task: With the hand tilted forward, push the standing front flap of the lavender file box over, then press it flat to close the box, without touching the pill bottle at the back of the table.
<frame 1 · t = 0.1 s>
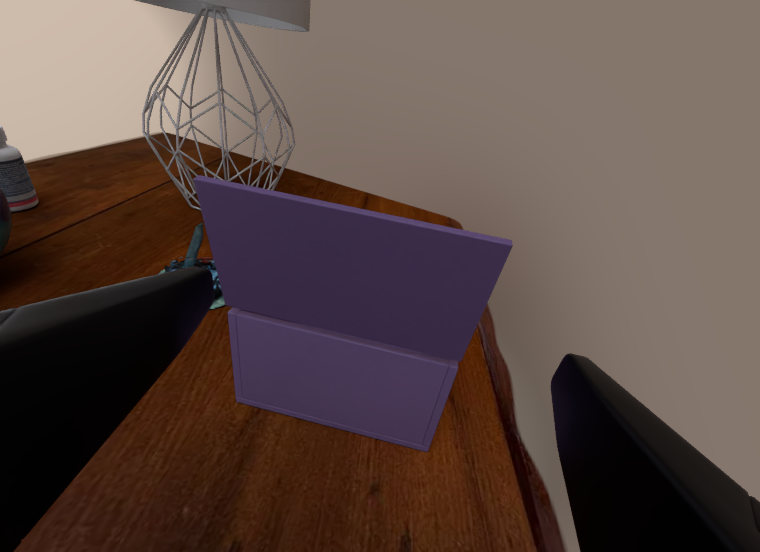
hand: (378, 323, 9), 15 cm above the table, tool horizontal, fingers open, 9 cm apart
file box: (356, 350, 29), on the table
dish: (203, 285, 34), on the table
table lamp: (228, 201, 53), on the table
flap: (343, 278, 16), point 12 cm above the table, hinge at 100.0°
pill bottle: (10, 207, 41), on the table
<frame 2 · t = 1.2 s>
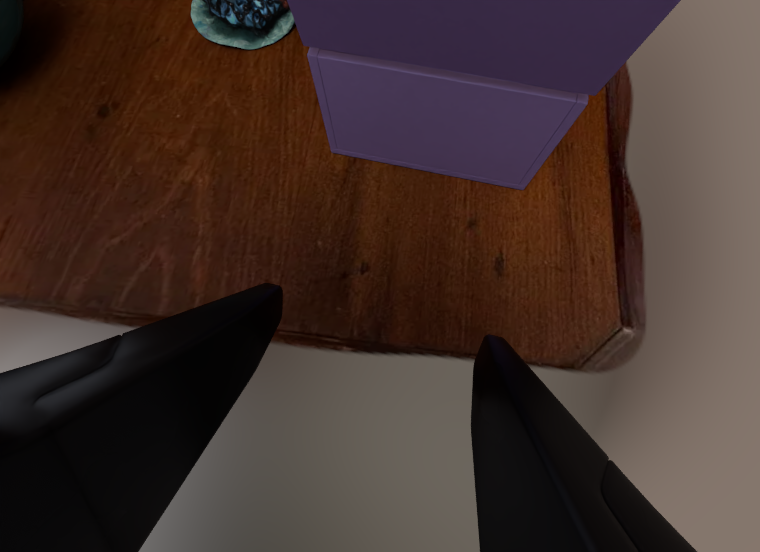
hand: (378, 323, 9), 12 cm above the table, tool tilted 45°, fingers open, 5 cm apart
file box: (445, 82, 25), on the table
dish: (250, 8, 27), on the table
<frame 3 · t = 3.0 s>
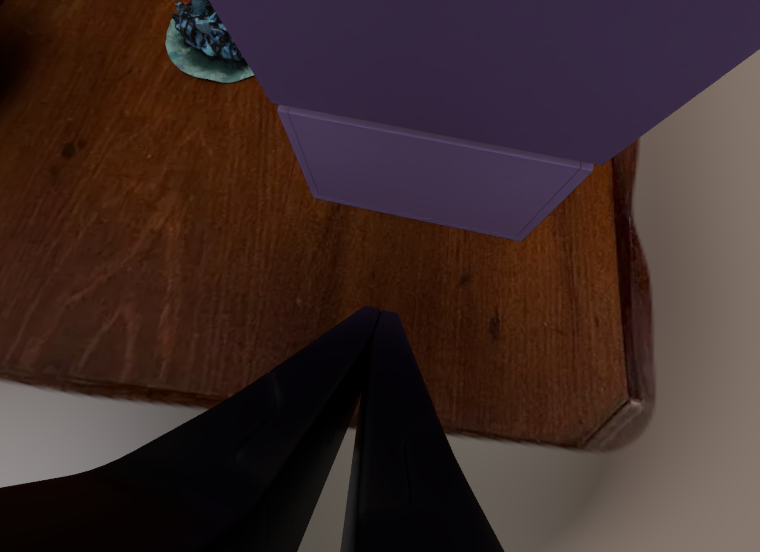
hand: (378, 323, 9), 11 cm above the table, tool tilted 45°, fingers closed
file box: (437, 119, 23), on the table
dish: (229, 37, 26), on the table
flap: (442, 58, 10), point 12 cm above the table, hinge at 100.0°
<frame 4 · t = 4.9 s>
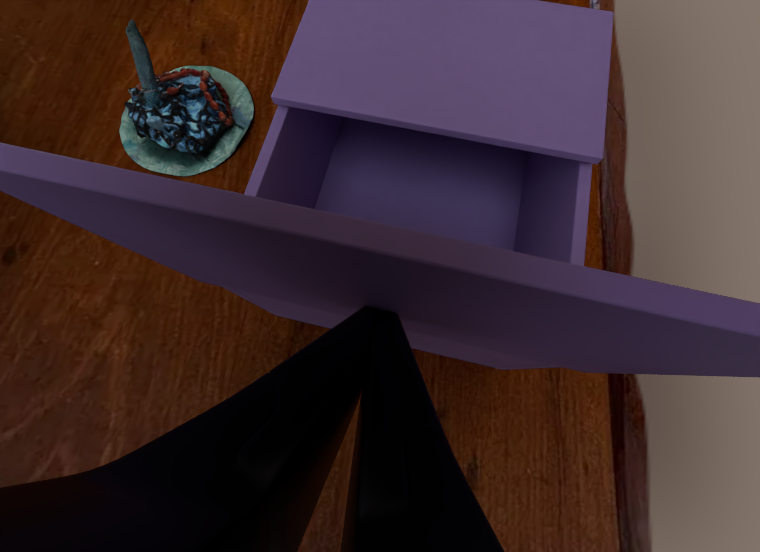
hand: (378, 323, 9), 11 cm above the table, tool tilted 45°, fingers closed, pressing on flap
file box: (413, 221, 21), on the table
dish: (190, 121, 24), on the table
flap: (383, 296, 8), point 12 cm above the table, hinge at 91.1°, touching gripper
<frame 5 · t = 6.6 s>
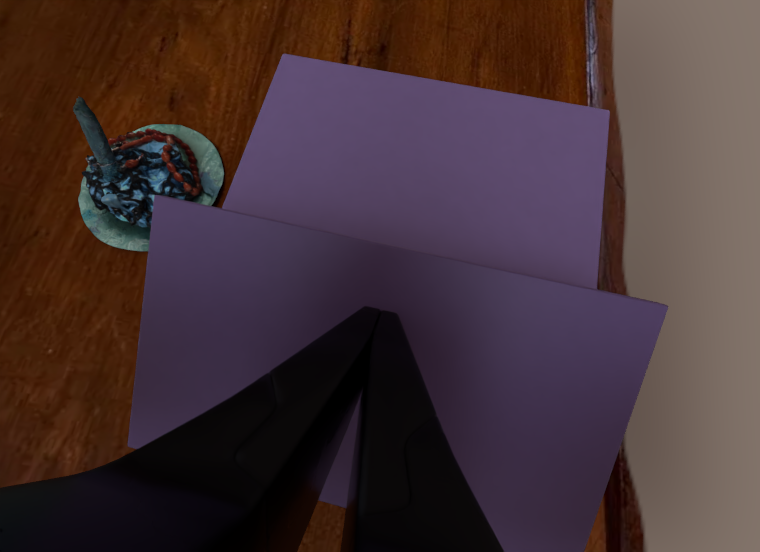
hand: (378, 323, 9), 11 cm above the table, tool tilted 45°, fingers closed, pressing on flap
file box: (393, 304, 19), on the table
dish: (155, 186, 22), on the table
flap: (367, 381, 9), point 10 cm above the table, hinge at 23.6°, touching gripper
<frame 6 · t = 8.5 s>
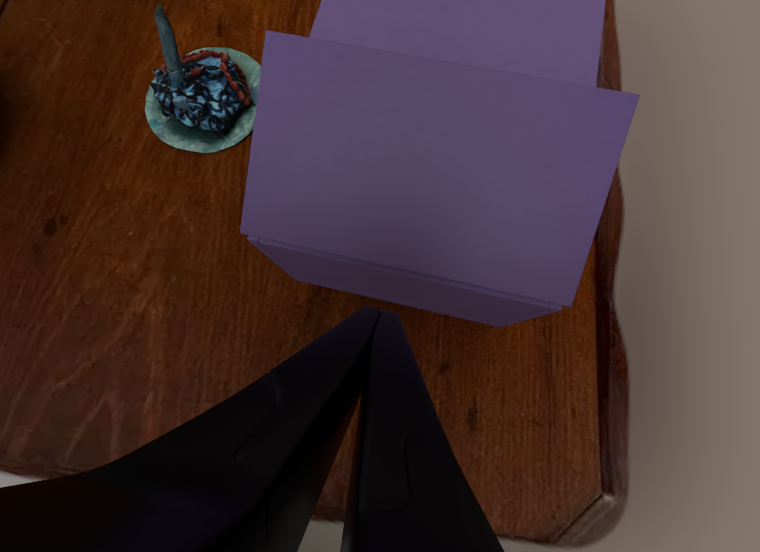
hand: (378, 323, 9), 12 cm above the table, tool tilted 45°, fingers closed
file box: (420, 194, 23), on the table
dish: (210, 101, 25), on the table
flap: (420, 171, 13), point 10 cm above the table, hinge at 23.5°
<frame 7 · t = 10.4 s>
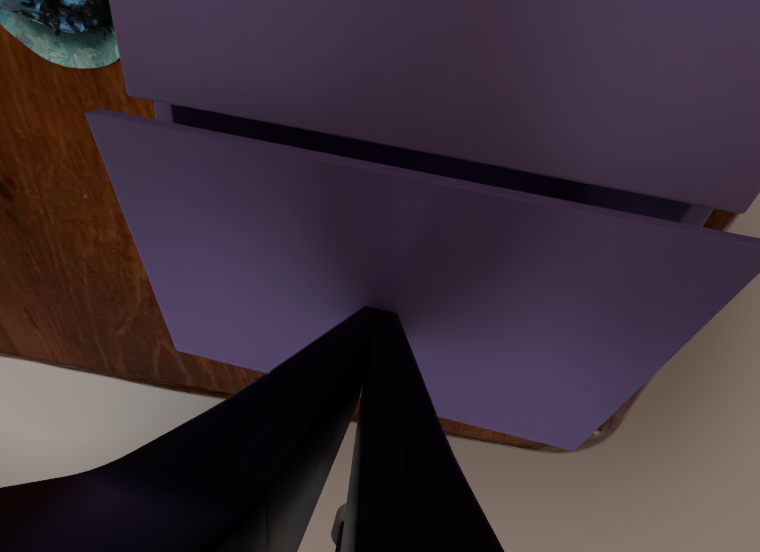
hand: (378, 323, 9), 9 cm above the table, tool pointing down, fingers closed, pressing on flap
file box: (431, 121, 14), on the table
flap: (381, 311, 9), point 9 cm above the table, hinge at 8.6°, touching gripper
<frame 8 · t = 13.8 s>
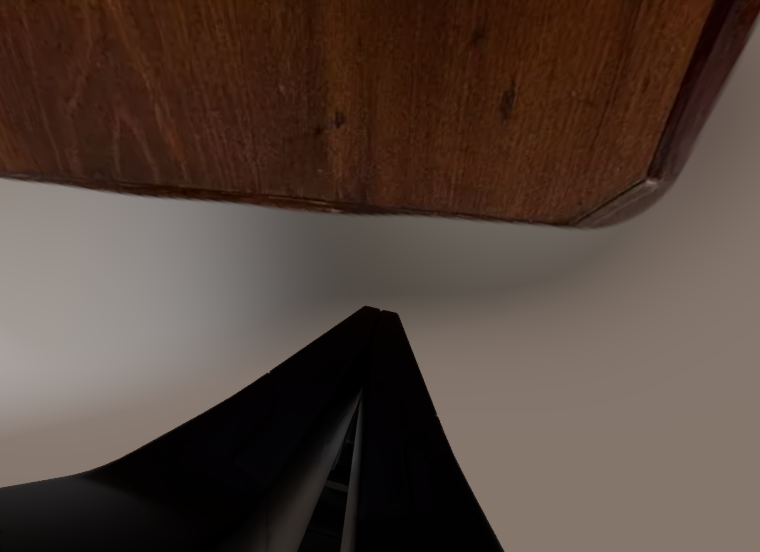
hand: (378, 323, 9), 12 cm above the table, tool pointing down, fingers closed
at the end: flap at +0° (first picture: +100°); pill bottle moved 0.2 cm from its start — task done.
